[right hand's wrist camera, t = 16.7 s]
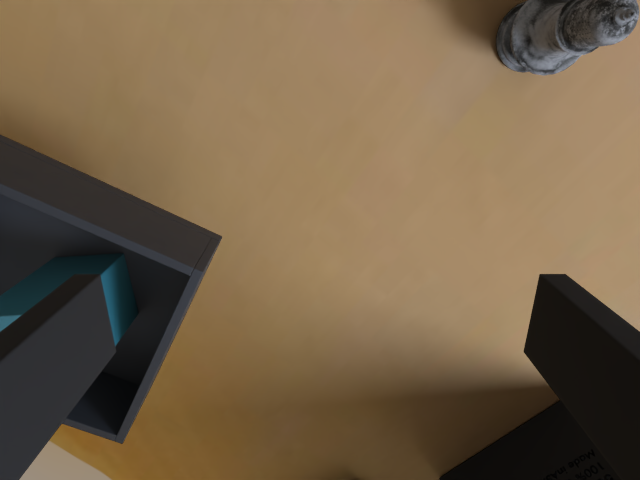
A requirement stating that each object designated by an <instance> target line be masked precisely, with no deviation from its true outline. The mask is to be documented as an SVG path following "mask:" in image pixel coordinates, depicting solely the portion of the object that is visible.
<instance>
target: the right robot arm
mask: <svg viewBox="0 0 640 480" xmlns="http://www.w3.org/2000/svg"><path fill="white" fill-rule="evenodd" d="M115 353H116V348H115V343H114V338H113V333H112V329H111V324H110V319H109V314H108V309H107V304H106V300H105V295H104V290H103V285H102V280H101V275H100V274H74V275H73V276H72V277H70V278H69V279H68V280H66V281H65V282H64V283H63V284H61V285H60V286H59V287H57V288H56V289H55V290H54V291H52V292H51V293H50V294H48V295H47V296H46V297H45V298H43V299H42V300H41V301H39V302H38V303H37V304H36V305H34V306H33V307H32V308H30V309H29V310H28V311H27V312H25V313H24V314H23V315H21V316H20V317H19V318H17V319H16V320H15V321H14V322H12V323H11V324H10V325H8V326H7V327H6V328H5V329H3V330H2V331H1V332H0V480H19V479H20V478H21V476H22V475H23V474H24V473H25V471H26V470H27V469H28V467H29V466H30V465H31V463H32V462H33V461H34V459H35V458H36V457H37V455H38V454H39V453H40V451H41V450H42V449H43V448H44V446H45V445H46V444H47V442H48V441H49V440H50V438H51V437H52V436H53V434H54V433H55V432H56V430H57V429H58V428H59V426H60V425H61V424H62V423H63V421H64V420H65V419H66V417H67V416H68V415H69V413H70V412H71V411H72V409H73V408H74V407H75V405H76V404H77V403H78V401H79V400H80V399H81V398H82V396H83V395H84V394H85V392H86V391H87V390H88V388H89V387H90V386H91V384H92V383H93V382H94V380H95V379H96V378H97V376H98V375H99V374H100V373H101V371H102V370H103V369H104V367H105V366H106V365H107V363H108V362H109V361H110V359H111V358H112V357H113V355H114V354H115ZM524 353H525V354H526V355H527V357H528V358H529V359H530V361H531V362H532V363H533V365H534V366H535V367H536V369H537V370H538V371H539V373H540V374H541V375H542V376H543V378H544V379H545V380H546V382H547V383H548V384H549V386H550V387H551V388H552V390H553V391H554V392H555V394H556V395H557V396H558V398H559V399H560V400H561V401H562V403H563V404H564V405H565V407H566V408H567V409H568V411H569V412H570V413H571V415H572V416H573V417H574V419H575V420H576V421H577V423H578V424H579V425H580V426H581V428H582V429H583V430H584V432H585V433H586V434H587V436H588V437H589V438H590V440H591V441H592V442H593V444H594V445H595V446H596V448H597V449H598V450H599V451H600V453H601V454H602V455H603V457H604V458H605V459H606V461H607V462H608V463H609V465H610V466H611V467H612V469H613V470H614V471H615V473H616V474H617V475H618V476H619V478H620V479H621V480H640V332H639V331H638V330H637V329H635V328H634V327H633V326H632V325H630V324H629V323H628V322H626V321H625V320H624V319H623V318H621V317H620V316H619V315H617V314H616V313H615V312H613V311H612V310H611V309H610V308H608V307H607V306H606V305H604V304H603V303H602V302H601V301H599V300H598V299H597V298H595V297H594V296H593V295H592V294H590V293H589V292H588V291H586V290H585V289H584V288H583V287H581V286H580V285H579V284H577V283H576V282H575V281H574V280H572V279H571V278H570V277H568V276H567V275H566V274H540V275H539V280H538V285H537V290H536V295H535V300H534V304H533V309H532V314H531V319H530V324H529V329H528V333H527V338H526V343H525V348H524Z"/></svg>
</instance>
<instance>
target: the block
mask: <svg viewBox="0 0 640 480" xmlns="http://www.w3.org/2000/svg"><path fill="white" fill-rule="evenodd" d="M74 274H100V275H101V280H102V285H103V290H104V295H105V300H106V304H107V309H108V314H109V319H110V324H111V329H112V333H113V338H114V343H115V346H116V345H117V343H118V342H119V341H120V339H121V338H122V336H123V335H124V334H125V332H126V331H127V329H128V328H129V327H130V325H131V324H132V322H133V321H134V320H135V318H136V317H137V315H138V314H139V312H138V308H137V304H136V300H135V296H134V292H133V288H132V284H131V280H130V276H129V272H128V268H127V264H126V260H125V256H124V253H119V254H103V255H87V256H71V257H55V258H53V259H51V260H50V261H48V262H47V263H46V264H44V265H43V266H41V267H40V268H38V269H37V270H36V271H34V272H33V273H31V274H30V275H29V276H27V277H26V278H24V279H23V280H22V281H20V282H19V283H17V284H16V285H15V286H13V287H12V288H10V289H9V290H8V291H6V292H5V293H3V294H2V295H1V296H0V332H1V331H2V330H3V329H5V328H6V327H7V326H8V325H10V324H11V323H12V322H14V321H15V320H16V319H17V318H19V317H20V316H21V315H23V314H24V313H25V312H27V311H28V310H29V309H30V308H32V307H33V306H34V305H36V304H37V303H38V302H39V301H41V300H42V299H43V298H45V297H46V296H47V295H48V294H50V293H51V292H52V291H54V290H55V289H56V288H57V287H59V286H60V285H61V284H63V283H64V282H65V281H66V280H68V279H69V278H70V277H72V276H73V275H74Z"/></svg>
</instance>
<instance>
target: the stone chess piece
mask: <svg viewBox="0 0 640 480" xmlns="http://www.w3.org/2000/svg"><path fill="white" fill-rule="evenodd" d="M638 16H639V7H638V3H637V1H636V0H527V1H525V2H523V3H521V4H518V5H517V6H516V7H514V8H513V9H512V10H510V11H509V13H508V14H507V15H506V16H505V17H504V19H503V21H502V22H501V24H500V26H499V29H498V33H497V37H496V47H497V52H498V55H499V57H500V59H501V61H502V62H503V63H504V64H505V65H506V66H507V67H508V68H510V69H512V70H514V71H518V72H531V73H533V74H538V75H550V74H555V73H558V72H560V71H563V70H565V69H566V68H568V67H569V66H571V65H572V64H574V63H575V62H576V60H577V59H578V58H579V57H580V56H581V55H585V54H587V53H590V52H592V51H594V50H595V49H597V48H598V47H599V46H607V45H613V44H615V43H618V42H620V41H622V40H623V39H625V38H626V37H627V36H628V35H629V34H630V33H631V32H632V31H633V29H634V28H635V26H636V23H637V21H638Z"/></svg>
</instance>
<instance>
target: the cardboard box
mask: <svg viewBox="0 0 640 480" xmlns="http://www.w3.org/2000/svg"><path fill="white" fill-rule="evenodd" d="M604 476H605V477H606V476H607V477H606V478H607V479H606V478H604ZM439 479H440V480H605V479H606V480H609V479H610V480H621V479H620V478H619V476H618V475H617V474H616V473H615V471H614V470H613V469H612V467H611V466H610V465H609V463H608V462H607V461H606V459H605V458H604V457H603V455H602V454H601V453H600V451H599V450H598V449H597V448H596V446H595V445H594V444H593V442H592V441H591V440H590V438H589V437H588V436H587V434H586V433H585V432H584V430H583V429H582V428H581V426H580V425H579V424H578V423H577V421H576V420H575V419H574V417H573V416H572V415H571V413H570V412H569V411H568V409H567V408H566V407H565V405H564V404H563V403H562V401H559V402H558V403H556V404H554V405H553V406H551V407H550V408H548V409H547V410H545V411H544V412H542V413H540V414H539V415H537V416H536V417H534V418H533V419H531V420H529V421H528V422H526V423H525V424H523V425H522V426H520V427H519V428H517V429H515V430H514V431H512V432H511V433H509V434H508V435H506V436H504V437H503V438H501V439H500V440H498V441H497V442H495V443H494V444H492V445H490V446H489V447H487V448H486V449H484V450H483V451H481V452H479V453H478V454H476V455H475V456H473V457H472V458H470V459H469V460H467V461H465V462H464V463H462V464H461V465H459V466H458V467H456V468H455V469H453V470H451V471H450V472H448V473H447V474H445V475H444V476H442V477H440V478H439Z"/></svg>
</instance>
